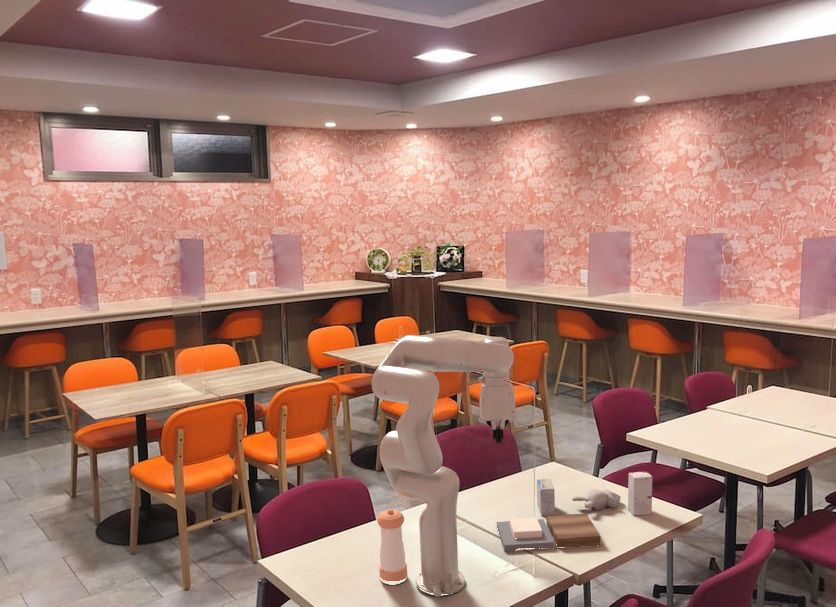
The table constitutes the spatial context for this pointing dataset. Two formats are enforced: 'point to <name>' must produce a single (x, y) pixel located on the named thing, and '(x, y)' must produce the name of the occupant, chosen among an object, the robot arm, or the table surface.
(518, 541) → the mat
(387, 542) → the pepper shaker
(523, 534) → the coaster
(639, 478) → the skincare box
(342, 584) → the table surface
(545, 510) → the medicine box
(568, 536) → the serving board
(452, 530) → the robot arm
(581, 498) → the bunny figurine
